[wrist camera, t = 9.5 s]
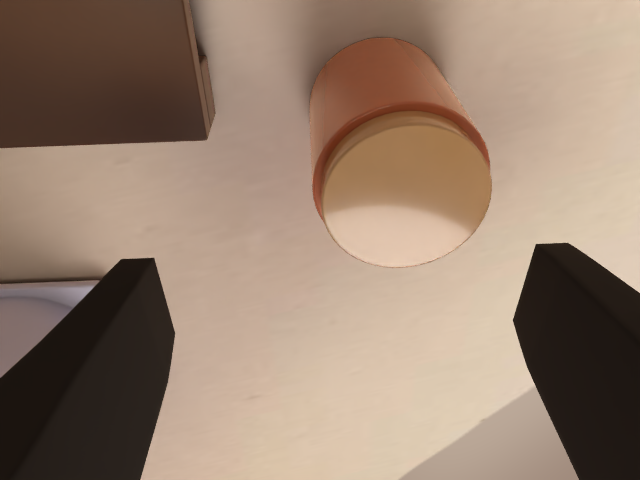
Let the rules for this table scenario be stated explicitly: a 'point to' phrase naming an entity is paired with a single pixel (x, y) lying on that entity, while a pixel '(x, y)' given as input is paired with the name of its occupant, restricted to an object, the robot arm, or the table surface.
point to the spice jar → (394, 156)
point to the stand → (101, 73)
